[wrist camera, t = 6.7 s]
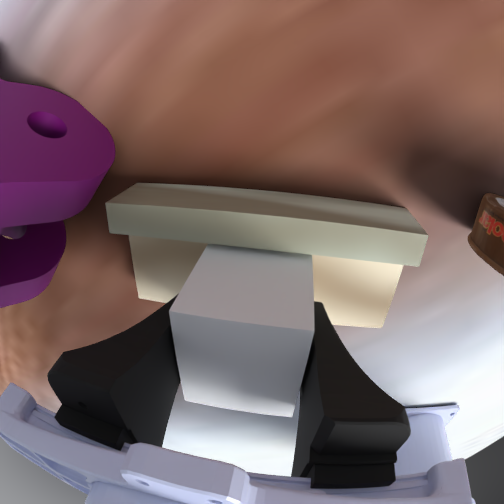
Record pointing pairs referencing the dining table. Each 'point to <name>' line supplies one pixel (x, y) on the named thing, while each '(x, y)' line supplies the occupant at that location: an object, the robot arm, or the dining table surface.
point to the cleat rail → (271, 240)
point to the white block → (245, 329)
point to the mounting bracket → (43, 181)
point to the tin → (489, 231)
